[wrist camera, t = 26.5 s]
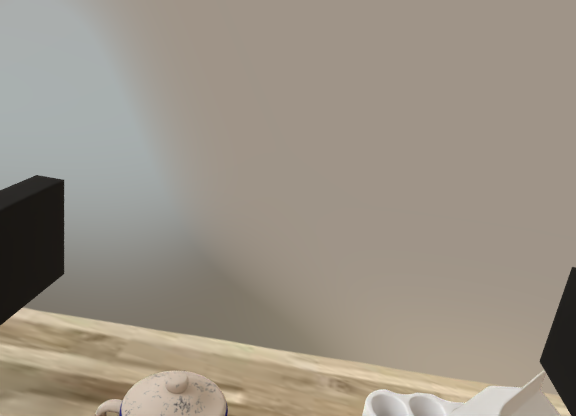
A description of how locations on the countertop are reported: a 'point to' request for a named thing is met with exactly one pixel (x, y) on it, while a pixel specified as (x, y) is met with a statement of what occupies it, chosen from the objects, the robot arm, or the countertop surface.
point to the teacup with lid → (169, 397)
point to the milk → (509, 401)
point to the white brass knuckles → (407, 404)
